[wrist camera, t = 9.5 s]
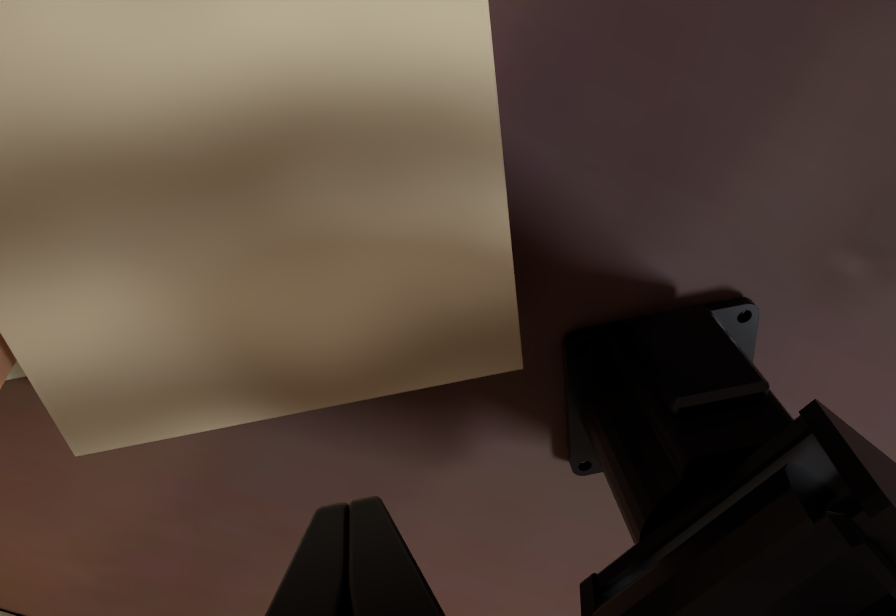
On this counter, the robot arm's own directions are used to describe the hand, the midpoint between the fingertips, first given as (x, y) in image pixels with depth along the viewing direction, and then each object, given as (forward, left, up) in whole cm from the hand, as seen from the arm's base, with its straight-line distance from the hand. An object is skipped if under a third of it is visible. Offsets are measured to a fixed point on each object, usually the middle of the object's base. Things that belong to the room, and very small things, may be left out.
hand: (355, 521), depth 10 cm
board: (+1, +2, -12) cm, 12 cm away
